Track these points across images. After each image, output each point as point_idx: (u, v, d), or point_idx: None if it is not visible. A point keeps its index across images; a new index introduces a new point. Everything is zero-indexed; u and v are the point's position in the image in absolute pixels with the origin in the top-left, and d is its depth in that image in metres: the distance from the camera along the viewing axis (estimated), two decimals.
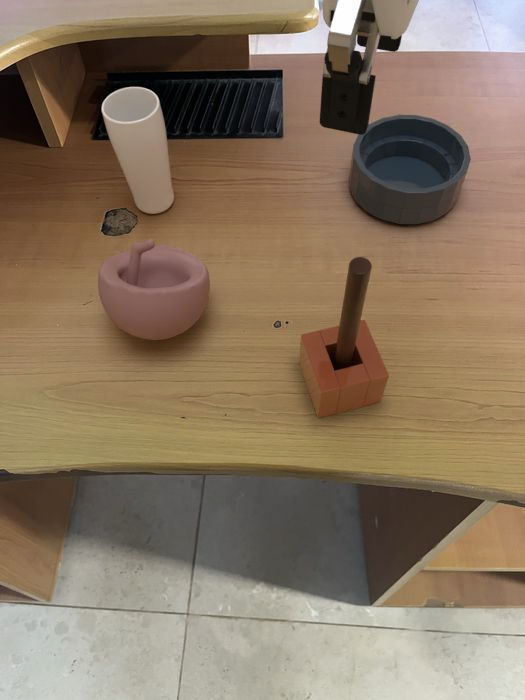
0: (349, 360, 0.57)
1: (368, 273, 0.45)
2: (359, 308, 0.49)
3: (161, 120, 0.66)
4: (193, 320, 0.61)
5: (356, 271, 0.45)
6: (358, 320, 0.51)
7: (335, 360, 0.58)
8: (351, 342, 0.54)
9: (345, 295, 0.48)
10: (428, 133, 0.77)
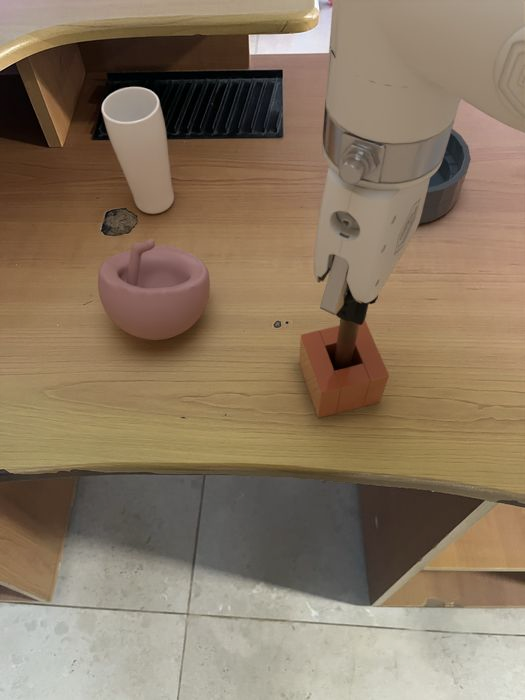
0: (349, 360, 0.57)
1: None
2: None
3: (161, 120, 0.66)
4: (193, 320, 0.61)
5: None
6: None
7: (335, 360, 0.58)
8: (351, 342, 0.54)
9: None
10: None
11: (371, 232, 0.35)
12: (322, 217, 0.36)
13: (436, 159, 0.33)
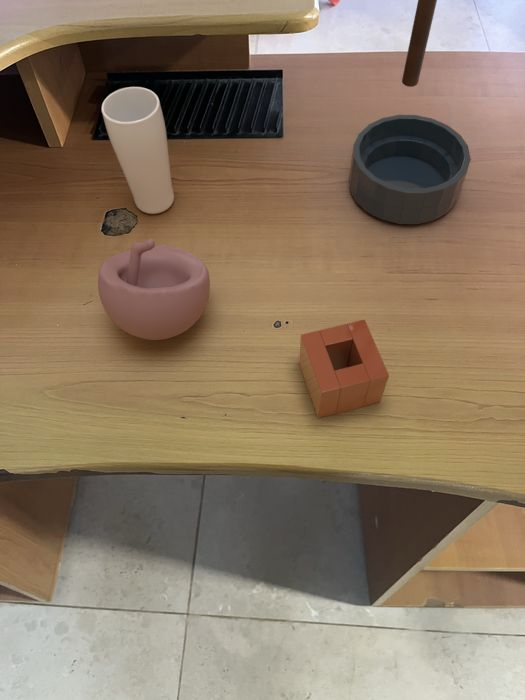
0: (427, 31, 0.58)
1: None
2: None
3: (161, 120, 0.66)
4: (193, 320, 0.61)
5: None
6: None
7: (412, 36, 0.59)
8: None
9: None
10: (428, 133, 0.77)
11: None
12: None
13: None
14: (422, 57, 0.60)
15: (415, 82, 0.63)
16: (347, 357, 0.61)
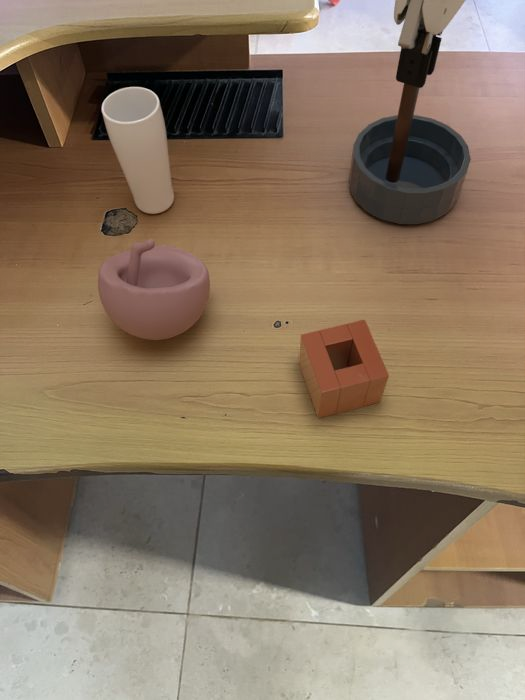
0: (405, 143, 0.70)
1: None
2: None
3: (161, 120, 0.66)
4: (193, 320, 0.61)
5: (421, 29, 0.58)
6: (417, 91, 0.64)
7: (393, 146, 0.70)
8: (409, 118, 0.66)
9: None
10: (428, 133, 0.77)
11: None
12: None
13: None
14: (402, 161, 0.72)
15: (397, 179, 0.74)
16: (347, 357, 0.61)
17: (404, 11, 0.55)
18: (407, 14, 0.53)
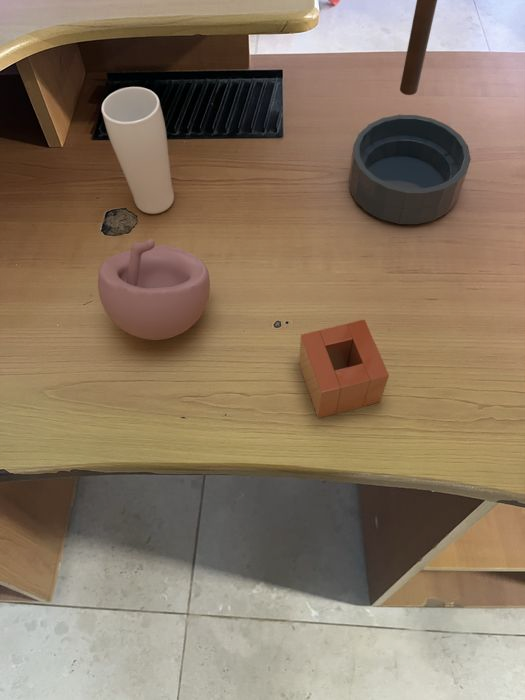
0: (426, 36, 0.54)
1: None
2: None
3: (161, 120, 0.66)
4: (193, 320, 0.61)
5: None
6: None
7: (410, 41, 0.55)
8: None
9: None
10: (428, 133, 0.77)
11: None
12: None
13: None
14: (421, 63, 0.56)
15: (414, 90, 0.59)
16: (347, 357, 0.61)
17: None
18: None
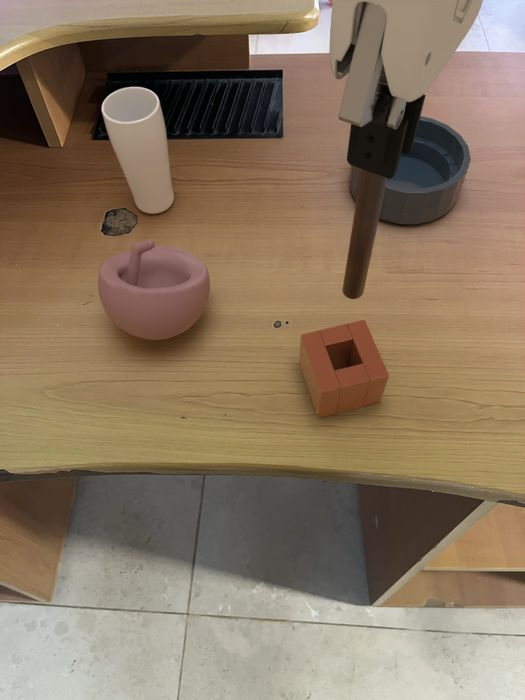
0: (368, 250, 0.43)
1: None
2: None
3: (161, 120, 0.66)
4: (193, 320, 0.61)
5: None
6: (384, 178, 0.37)
7: (350, 252, 0.44)
8: (373, 217, 0.40)
9: None
10: (428, 133, 0.77)
11: None
12: None
13: None
14: (365, 272, 0.46)
15: (359, 295, 0.48)
16: (347, 357, 0.61)
17: (352, 52, 0.29)
18: (353, 63, 0.27)
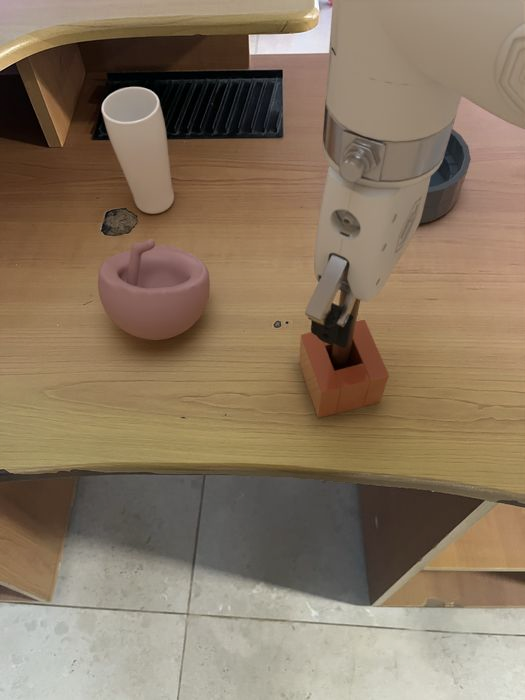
0: (346, 359, 0.57)
1: None
2: (355, 306, 0.49)
3: (161, 120, 0.66)
4: (193, 320, 0.61)
5: None
6: (354, 318, 0.51)
7: (332, 358, 0.58)
8: None
9: (341, 293, 0.48)
10: None
11: (372, 231, 0.35)
12: (322, 216, 0.36)
13: (437, 157, 0.33)
14: None
15: None
16: None
17: None
18: None
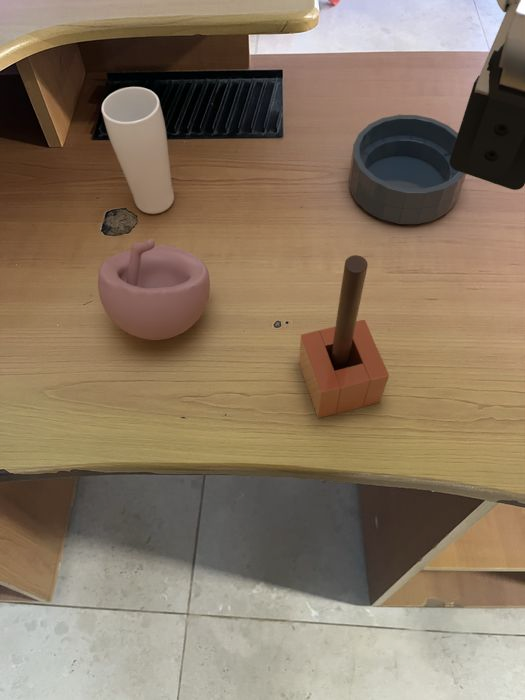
0: (346, 359, 0.57)
1: (364, 271, 0.45)
2: (355, 306, 0.49)
3: (161, 120, 0.66)
4: (193, 320, 0.61)
5: (351, 270, 0.45)
6: (354, 318, 0.51)
7: (332, 358, 0.58)
8: (348, 340, 0.54)
9: (341, 293, 0.48)
10: (428, 133, 0.77)
11: None
12: None
13: None
14: None
15: None
16: None
17: None
18: None
